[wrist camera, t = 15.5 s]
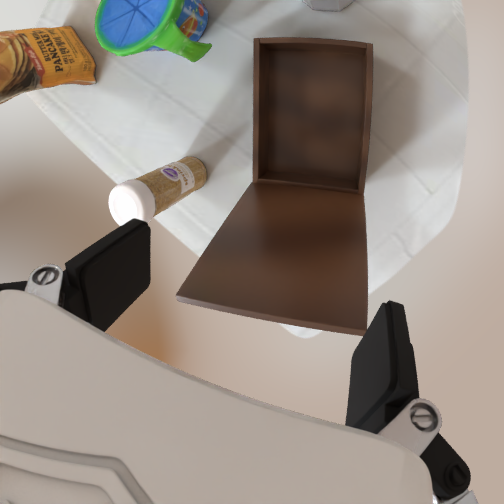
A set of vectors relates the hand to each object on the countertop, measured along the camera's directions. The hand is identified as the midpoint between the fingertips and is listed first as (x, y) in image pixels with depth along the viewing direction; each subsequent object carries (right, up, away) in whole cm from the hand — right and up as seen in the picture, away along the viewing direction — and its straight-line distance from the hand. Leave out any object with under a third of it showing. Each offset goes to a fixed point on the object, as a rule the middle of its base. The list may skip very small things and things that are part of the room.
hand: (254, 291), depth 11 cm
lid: (+3, +3, +11) cm, 12 cm away
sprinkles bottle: (-8, +12, +25) cm, 29 cm away
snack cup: (-8, +29, +16) cm, 35 cm away
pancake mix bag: (-28, +32, +21) cm, 48 cm away
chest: (+7, +16, +18) cm, 25 cm away
